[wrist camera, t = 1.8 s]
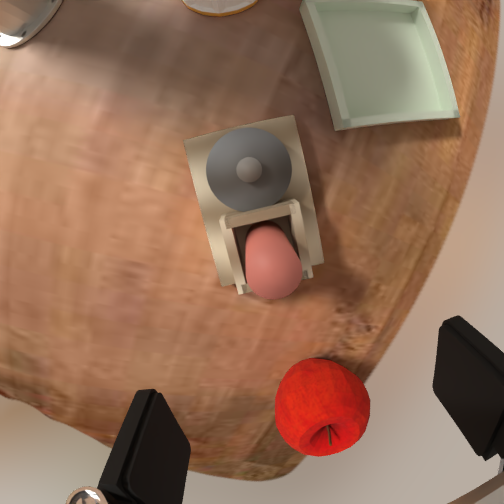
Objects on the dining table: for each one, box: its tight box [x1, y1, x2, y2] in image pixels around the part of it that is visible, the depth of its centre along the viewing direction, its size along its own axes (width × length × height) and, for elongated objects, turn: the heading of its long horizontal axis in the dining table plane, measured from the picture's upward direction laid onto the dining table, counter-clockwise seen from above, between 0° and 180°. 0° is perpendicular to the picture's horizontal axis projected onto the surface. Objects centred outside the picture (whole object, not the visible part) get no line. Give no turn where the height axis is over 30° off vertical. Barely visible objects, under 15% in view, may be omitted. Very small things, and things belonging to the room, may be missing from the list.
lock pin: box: [245, 220, 302, 299], centre depth 24 cm, size 4×4×9 cm
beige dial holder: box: [183, 115, 324, 294], centre depth 26 cm, size 14×10×6 cm
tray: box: [299, 0, 460, 131], centre depth 24 cm, size 14×14×3 cm
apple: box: [275, 358, 370, 456], centre depth 29 cm, size 10×10×12 cm
